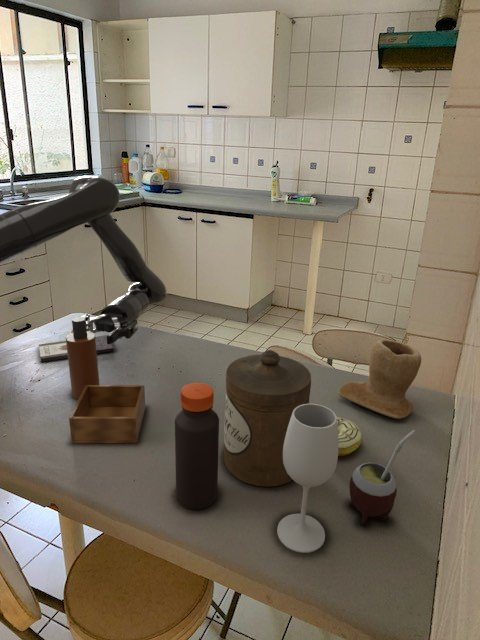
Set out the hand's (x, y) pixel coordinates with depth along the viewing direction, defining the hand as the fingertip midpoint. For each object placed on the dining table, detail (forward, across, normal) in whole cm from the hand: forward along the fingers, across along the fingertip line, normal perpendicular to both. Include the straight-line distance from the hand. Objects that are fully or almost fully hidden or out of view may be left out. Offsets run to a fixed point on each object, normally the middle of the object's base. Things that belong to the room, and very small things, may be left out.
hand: (90, 338), depth 104 cm
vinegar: (+28, +33, +12) cm, 45 cm away
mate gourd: (+25, +61, +12) cm, 67 cm away
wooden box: (+14, +11, +12) cm, 21 cm away
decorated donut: (+8, +55, +12) cm, 57 cm away
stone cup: (-9, +65, +12) cm, 66 cm away
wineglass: (+32, +51, +12) cm, 61 cm away
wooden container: (+16, +43, +12) cm, 47 cm away
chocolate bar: (-15, -14, +12) cm, 24 cm away
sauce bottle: (+4, 0, +12) cm, 12 cm away
